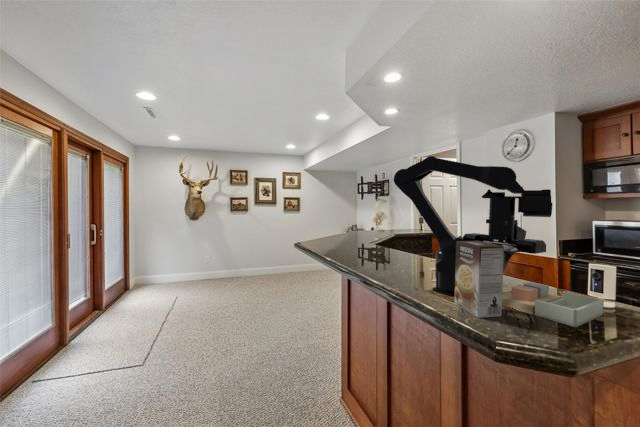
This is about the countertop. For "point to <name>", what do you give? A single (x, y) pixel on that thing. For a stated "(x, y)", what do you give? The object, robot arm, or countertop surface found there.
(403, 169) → the robot arm
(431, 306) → the countertop surface
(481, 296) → the coffee box
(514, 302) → the deck
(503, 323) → the countertop surface
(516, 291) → the tile terracotta
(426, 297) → the countertop surface
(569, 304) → the tray
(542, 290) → the tile slate
